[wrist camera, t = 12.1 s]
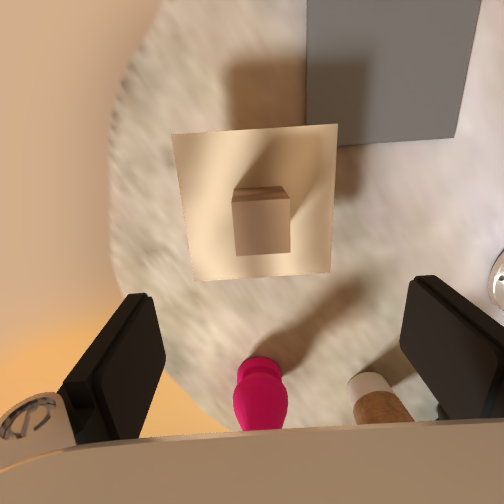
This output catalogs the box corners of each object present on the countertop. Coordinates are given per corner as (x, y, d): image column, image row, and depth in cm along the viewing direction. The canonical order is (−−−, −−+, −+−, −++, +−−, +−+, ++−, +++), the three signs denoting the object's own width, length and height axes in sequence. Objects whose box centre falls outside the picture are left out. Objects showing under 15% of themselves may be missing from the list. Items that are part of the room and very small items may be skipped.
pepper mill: (230, 356, 40) (218, 547, 22) (282, 351, 40) (313, 539, 21) (237, 393, 43) (231, 590, 24) (285, 388, 43) (315, 583, 24)
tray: (487, -56, 24) (492, -61, 23) (449, 137, 29) (453, 137, 29) (307, -44, 24) (308, -48, 23) (305, 147, 29) (306, 147, 29)
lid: (333, 124, 23) (362, 121, 17) (326, 267, 28) (347, 301, 22) (174, 134, 23) (151, 135, 17) (196, 275, 28) (184, 311, 23)
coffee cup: (399, 396, 44) (470, 517, 30) (346, 412, 45) (391, 536, 31) (387, 357, 41) (461, 472, 27) (331, 375, 42) (374, 495, 28)
